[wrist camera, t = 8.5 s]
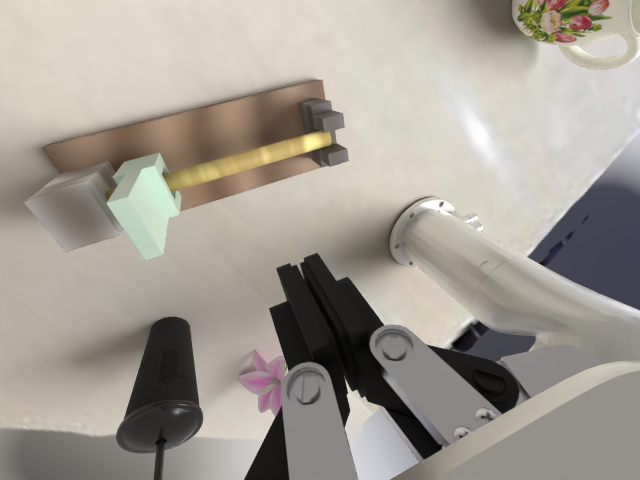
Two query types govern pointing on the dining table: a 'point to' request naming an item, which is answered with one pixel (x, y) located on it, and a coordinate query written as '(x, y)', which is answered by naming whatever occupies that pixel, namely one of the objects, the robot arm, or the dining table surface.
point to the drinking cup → (163, 394)
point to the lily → (266, 382)
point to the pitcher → (581, 27)
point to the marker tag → (144, 203)
